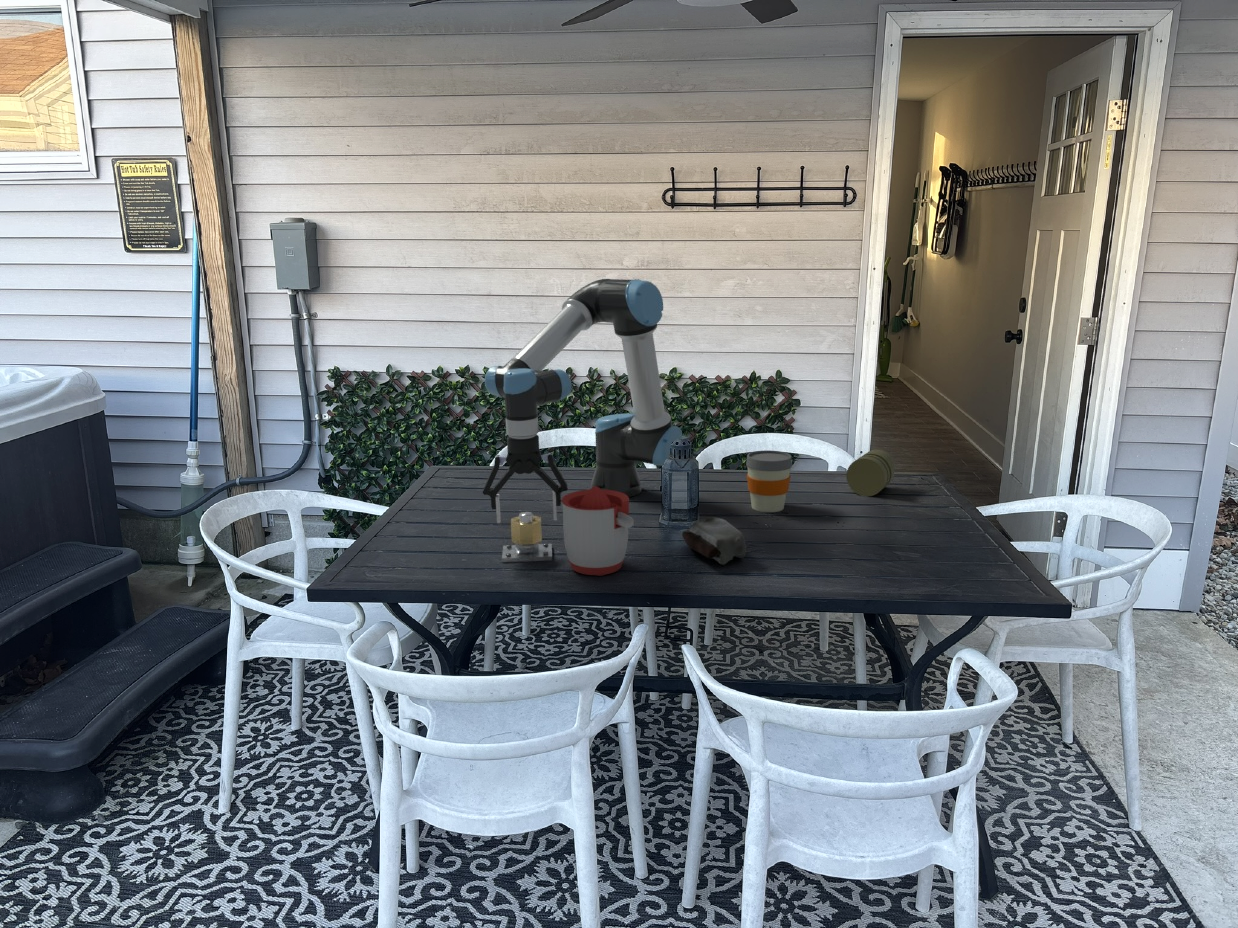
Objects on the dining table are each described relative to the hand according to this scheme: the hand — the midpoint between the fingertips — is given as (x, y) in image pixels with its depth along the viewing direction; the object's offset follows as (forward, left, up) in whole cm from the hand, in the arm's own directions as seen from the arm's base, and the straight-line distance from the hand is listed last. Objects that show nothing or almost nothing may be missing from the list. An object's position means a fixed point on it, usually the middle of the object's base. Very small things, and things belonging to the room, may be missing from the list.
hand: (527, 520), depth 226 cm
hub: (0, 0, -5) cm, 5 cm away
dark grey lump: (-45, +7, -9) cm, 46 cm away
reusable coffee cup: (-67, -30, -9) cm, 74 cm away
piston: (-101, -42, -9) cm, 109 cm away
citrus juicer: (-17, +11, -9) cm, 22 cm away
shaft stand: (0, 0, -9) cm, 9 cm away
